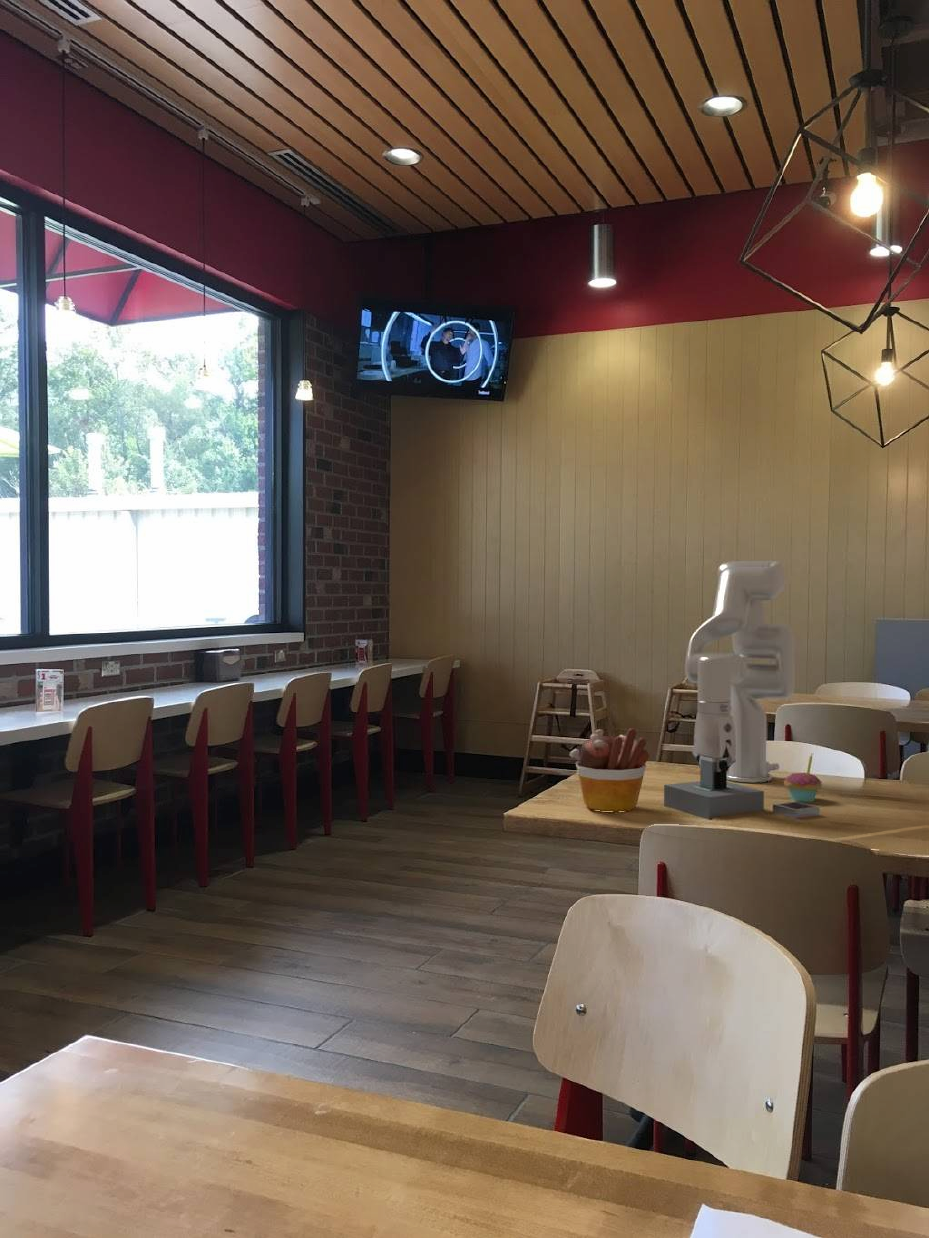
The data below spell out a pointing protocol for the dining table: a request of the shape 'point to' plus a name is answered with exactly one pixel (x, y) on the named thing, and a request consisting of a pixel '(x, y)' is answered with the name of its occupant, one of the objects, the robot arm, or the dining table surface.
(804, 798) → the cupcake
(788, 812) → the box
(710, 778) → the plug
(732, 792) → the port block
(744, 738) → the robot arm
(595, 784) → the bucket of meat
